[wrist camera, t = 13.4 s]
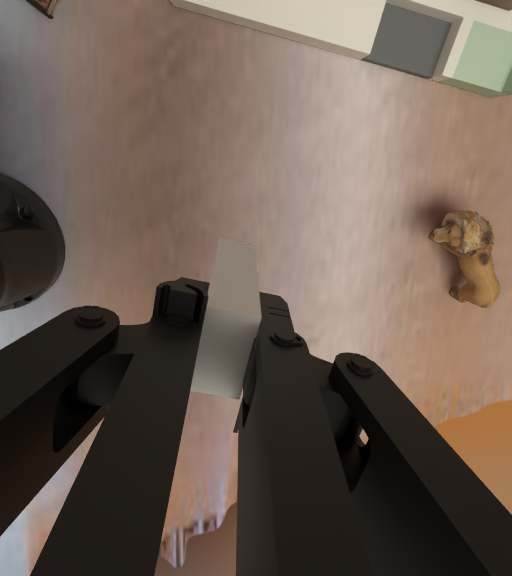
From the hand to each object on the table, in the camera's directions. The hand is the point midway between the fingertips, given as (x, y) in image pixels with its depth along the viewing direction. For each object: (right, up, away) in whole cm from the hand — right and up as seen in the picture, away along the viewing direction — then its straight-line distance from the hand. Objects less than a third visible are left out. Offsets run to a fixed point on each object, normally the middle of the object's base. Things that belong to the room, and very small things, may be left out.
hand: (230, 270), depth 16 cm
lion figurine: (+23, +4, +28) cm, 37 cm away
